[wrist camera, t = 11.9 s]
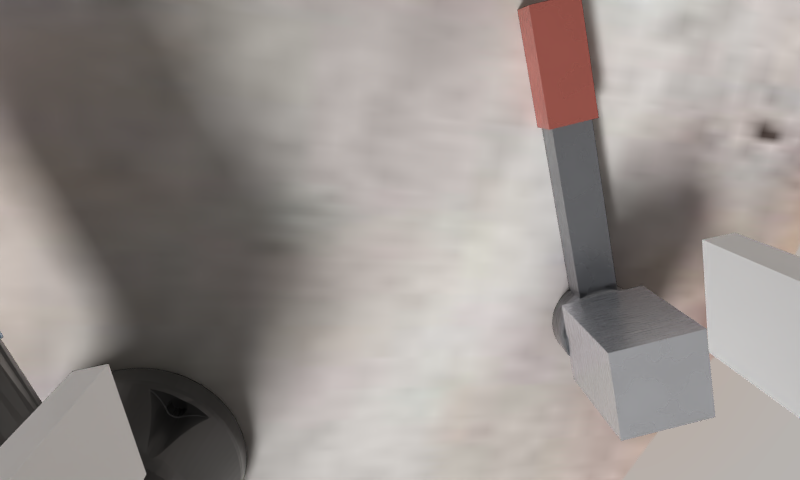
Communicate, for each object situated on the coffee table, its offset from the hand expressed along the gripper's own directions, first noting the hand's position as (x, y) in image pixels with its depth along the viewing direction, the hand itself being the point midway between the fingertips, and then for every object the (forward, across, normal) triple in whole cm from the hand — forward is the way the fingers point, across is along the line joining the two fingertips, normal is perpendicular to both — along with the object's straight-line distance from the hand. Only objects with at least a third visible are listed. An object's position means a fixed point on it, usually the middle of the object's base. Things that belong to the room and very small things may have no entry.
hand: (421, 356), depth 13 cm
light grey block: (+27, +15, -15) cm, 34 cm away
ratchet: (+30, +14, -5) cm, 34 cm away
